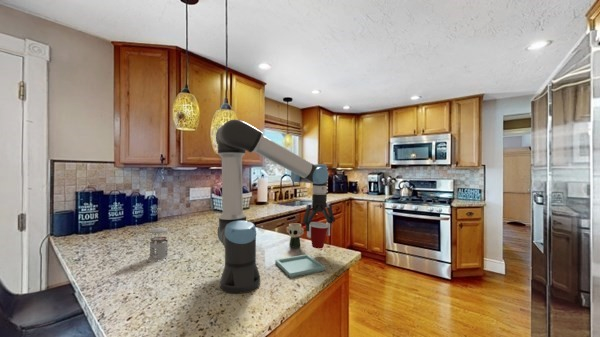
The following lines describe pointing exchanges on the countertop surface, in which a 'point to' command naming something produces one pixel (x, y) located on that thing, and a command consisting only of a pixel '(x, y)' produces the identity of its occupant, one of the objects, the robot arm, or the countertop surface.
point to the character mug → (295, 234)
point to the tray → (299, 265)
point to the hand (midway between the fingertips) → (318, 236)
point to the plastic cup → (318, 234)
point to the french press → (158, 244)
